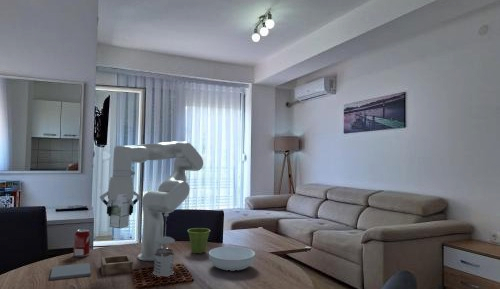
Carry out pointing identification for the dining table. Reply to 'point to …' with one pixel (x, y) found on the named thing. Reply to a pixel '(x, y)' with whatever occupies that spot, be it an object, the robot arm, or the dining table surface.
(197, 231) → the plant pot
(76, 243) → the soda can
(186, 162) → the robot arm
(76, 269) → the mat
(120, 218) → the syrup box
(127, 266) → the holder
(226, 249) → the serving bowl
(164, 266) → the french press
